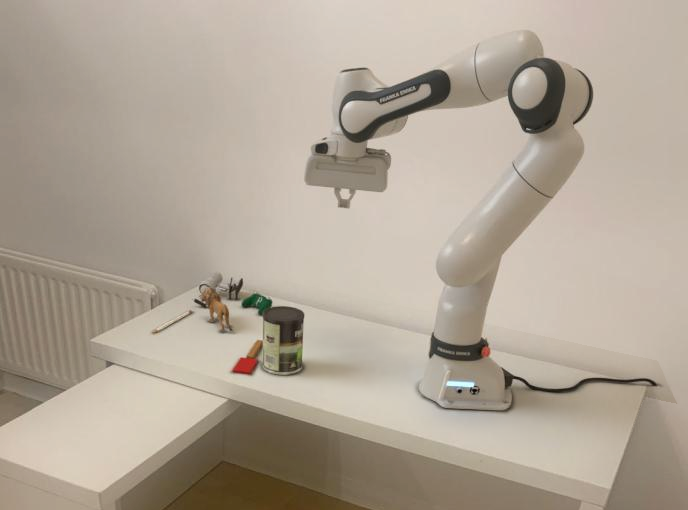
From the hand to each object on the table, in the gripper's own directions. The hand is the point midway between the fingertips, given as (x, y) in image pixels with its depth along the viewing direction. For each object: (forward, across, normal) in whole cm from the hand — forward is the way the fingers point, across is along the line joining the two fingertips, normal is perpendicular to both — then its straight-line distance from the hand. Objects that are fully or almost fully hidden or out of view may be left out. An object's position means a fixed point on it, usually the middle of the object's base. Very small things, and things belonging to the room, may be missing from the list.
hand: (343, 207), depth 185 cm
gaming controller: (+35, +26, -17) cm, 47 cm away
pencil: (+36, +46, +1) cm, 58 cm away
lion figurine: (+35, +34, -2) cm, 49 cm away
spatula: (+35, +19, +18) cm, 44 cm away
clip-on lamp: (+35, +40, -21) cm, 57 cm away
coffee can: (+35, +10, +20) cm, 42 cm away
